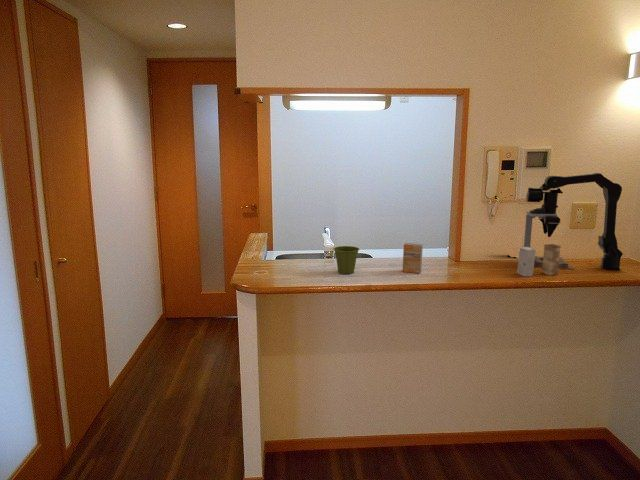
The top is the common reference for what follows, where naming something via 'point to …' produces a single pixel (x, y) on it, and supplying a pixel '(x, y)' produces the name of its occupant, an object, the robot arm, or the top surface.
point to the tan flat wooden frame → (562, 263)
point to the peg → (551, 259)
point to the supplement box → (412, 257)
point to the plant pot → (346, 258)
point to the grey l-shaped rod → (529, 226)
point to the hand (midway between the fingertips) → (547, 235)
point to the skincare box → (526, 261)
